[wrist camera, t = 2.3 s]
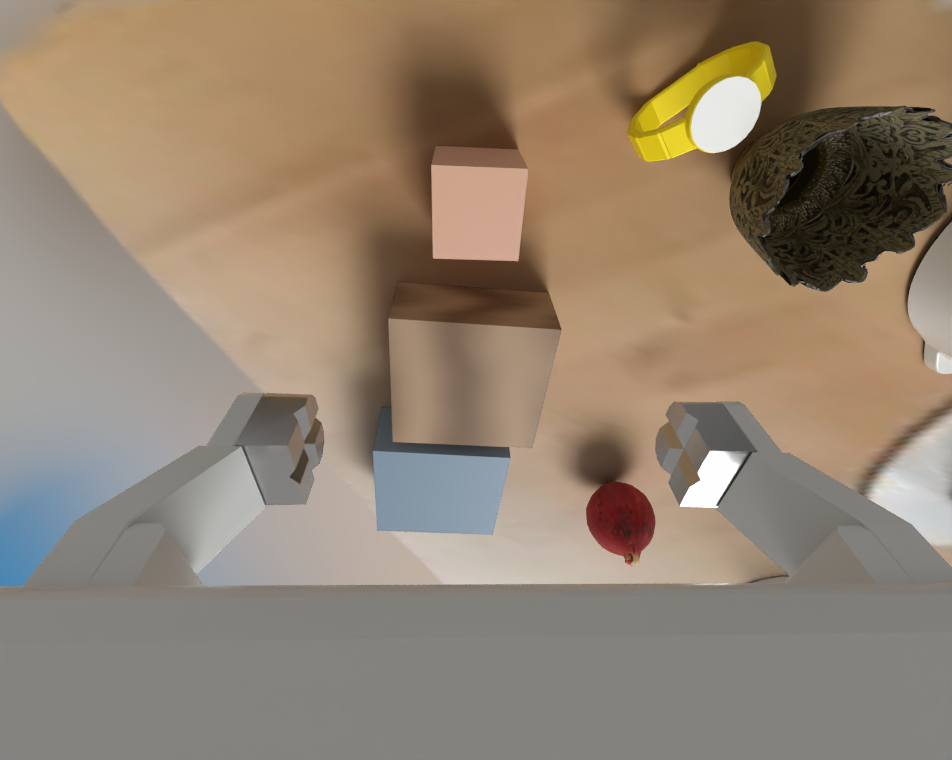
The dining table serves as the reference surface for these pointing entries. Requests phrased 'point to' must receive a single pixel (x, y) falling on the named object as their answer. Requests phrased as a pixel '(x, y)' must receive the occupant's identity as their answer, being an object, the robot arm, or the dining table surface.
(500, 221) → the terracotta cube
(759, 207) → the cup
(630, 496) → the onion
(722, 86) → the watch
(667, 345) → the dining table surface
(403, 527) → the slate-blue block
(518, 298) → the walnut block
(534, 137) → the dining table surface
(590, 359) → the dining table surface
